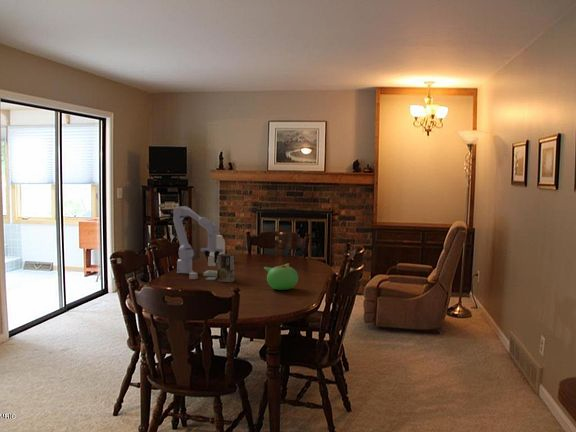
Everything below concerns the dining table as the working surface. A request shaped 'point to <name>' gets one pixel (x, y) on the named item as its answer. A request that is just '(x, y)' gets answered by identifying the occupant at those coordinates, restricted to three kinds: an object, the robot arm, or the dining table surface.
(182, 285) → the dining table surface
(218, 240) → the can
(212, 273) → the outlet plate
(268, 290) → the dining table surface
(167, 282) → the dining table surface
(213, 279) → the phone
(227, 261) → the coffee box
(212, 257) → the charger
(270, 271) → the green rounded lump
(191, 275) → the cable plug
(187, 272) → the robot arm
